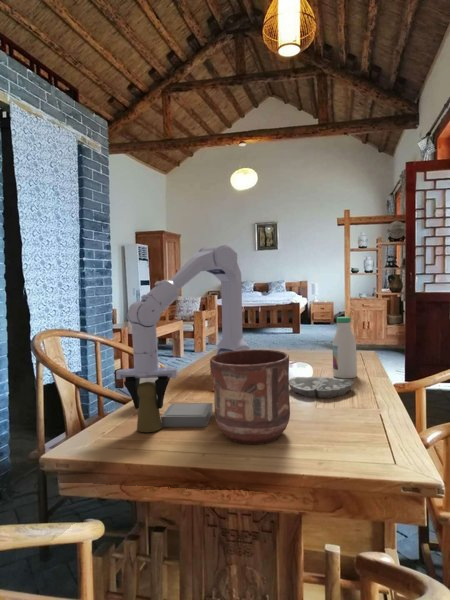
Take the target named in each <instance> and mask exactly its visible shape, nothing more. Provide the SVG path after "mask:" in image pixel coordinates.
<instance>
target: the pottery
mask: <svg viewBox="0 0 450 600" xmlns="http://www.w3.org/2000/svg"><path fill="white" fill-rule="evenodd" d="M209 364H210V365H209V366H210V368H211V369H210V370H211V377H212V382H213V383H212V384H213V393H214V404H213V405H214V419H215V421H216V422H215V423H216V424H217V426H218V428H219V429H220V431H221V432H222V433H223V434H224V436H226V437H227V438H228V439H229V440H230V441H232V442H235V443H238V444H243V445H263V444H267V443H268V444H269V443H271V442H274V441H276V440H278V438H279V437H281V435H282V434H283V433H284V432H285V430H286V429H287V428H288V427H287V426H288V424H289V421H290V418H291V404H290V403H291V402H290V385H289V380H290V379H289V378H290V372H289V371H290V354H288V353H286V352H283V351H280V350H273V349H250V350H238V351H230V352H225V353H221V354H218V355H216V354H215V355H214V356H213V355H212V357H211V358H210V359H209Z"/></svg>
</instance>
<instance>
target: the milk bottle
mask: <svg viewBox="0 0 450 600" xmlns="http://www.w3.org/2000/svg"><path fill="white" fill-rule="evenodd" d="M351 320H352V319H351V317H350V316H337V317H336V326H337V327H336V331H335V333H334V335H333V338H332V372H333V373H332V374H333V378H336V379H347V380H349V379H354V378H357V375H358V365H357V364H358V362H357V361H358V360H357V359H358V358H357V355H358V354H357V341H356V338H355V335H354V333H353V331H352V327H351V322H352V321H351Z"/></svg>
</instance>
